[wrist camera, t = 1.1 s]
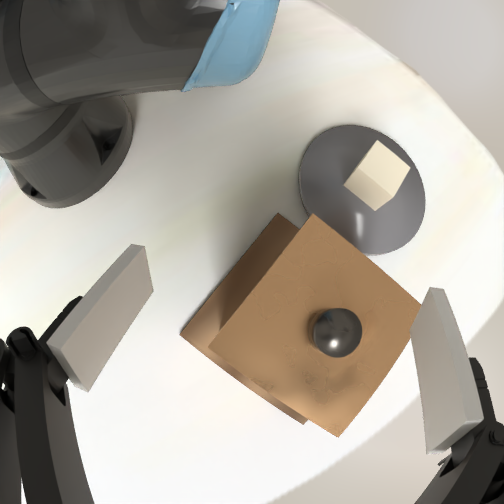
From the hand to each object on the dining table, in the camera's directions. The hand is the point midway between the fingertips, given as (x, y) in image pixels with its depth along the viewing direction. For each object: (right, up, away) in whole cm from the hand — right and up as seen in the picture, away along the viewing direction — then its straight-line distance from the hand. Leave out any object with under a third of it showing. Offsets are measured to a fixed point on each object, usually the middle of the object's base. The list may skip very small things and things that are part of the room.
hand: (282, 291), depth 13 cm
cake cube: (+10, +8, +15) cm, 20 cm away
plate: (+10, +8, +16) cm, 21 cm away
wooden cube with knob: (+2, -4, +13) cm, 14 cm away
